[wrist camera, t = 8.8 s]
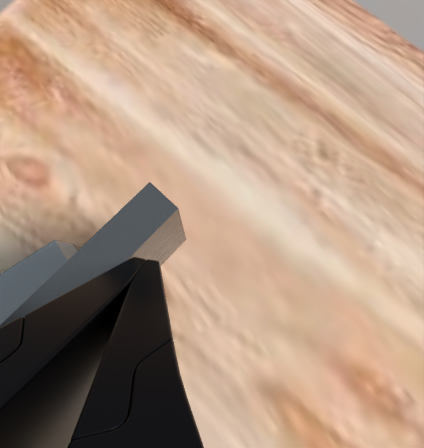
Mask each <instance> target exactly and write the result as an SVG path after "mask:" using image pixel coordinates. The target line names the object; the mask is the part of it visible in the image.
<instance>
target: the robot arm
mask: <svg viewBox="0 0 424 448" xmlns="http://www.w3.org/2000/svg"><path fill="white" fill-rule="evenodd" d="M0 448H204V447H203V444H202V441H201V438H200V435H199V432H198V429H197V426H196V423H195V420H194V417H193V414H192V411H191V408H190V405H189V402H188V399H187V396H186V392H185V389H184V385H183V382H182V379H181V375H180V371H179V367H178V362H177V357H176V352H175V346H174V342H173V337H172V331H171V325H170V319H169V314H168V308H167V302H166V296H165V290H164V285H163V279H162V273H161V267H160V262H159V261H156V260H150V259H147V260H146V259H144V258H138V257H132V258H130V259H128V260H127V261H125V262H123V263H121V264H119V265H117V266H115V267H114V268H112V269H110V270H108V271H106V272H104V273H102V274H101V275H99V276H97V277H95V278H93V279H91V280H89V281H87V282H86V283H84V284H82V285H80V286H78V287H76V288H74V289H73V290H71V291H69V292H67V293H65V294H63V295H61V296H60V297H58V298H56V299H54V300H52V301H50V302H48V303H46V304H45V305H43V306H41V307H39V308H37V309H35V310H33V311H32V312H30V313H28V314H26V315H25V316H24V317H19V318H17V319H16V320H14V321H12V322H10V323H8V324H6V325H4V326H2V327H0Z"/></svg>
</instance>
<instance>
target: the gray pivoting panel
mask: <svg viewBox="0 0 424 448" xmlns="http://www.w3.org/2000/svg"><path fill="white" fill-rule="evenodd" d="M185 240H186V237H185V233H184V229H183V225H182V221H181V217H180V213H179V209H178V208H177V207H176V206H175V205H174V204H173V203H172V202H171V201H170V200H169V199H168V198H166V197H165V196H164V195H163V194H162V193H161V192H160V191H159V190H158V189H157V188H156V187H155V186H154V185H152V184H151V183H150V182H149V183H148V184H147V185H146V186H145V187H144V188H143V189H142V190H141V191H140V192H139V193H138V194H137V195H136V196H135V197H134V198H133V199H132V200H130V201H129V202H128V203H127V204H126V205H125V206H124V207H123V208H122V209H121V210H120V211H119V212H118V213H117V214H116V215H115V216H114V217H113V218H112V219H111V220H110V221H109V222H107V223H106V224H105V225H104V226H103V227H102V228H101V229H100V230H99V231H98V232H97V233H96V234H95V235H94V236H93V237H92V238H91V239H90V240H89V241H88V242H87V243H86V244H84V245H83V246H82V247H81V248H80V249H79V250H78V251H77V252H76V253H75V254H74V255H73V256H72V257H71V258H70V259H69V260H68V261H67V262H66V263H65V264H64V265H62V266H61V267H60V268H59V269H58V270H57V271H56V272H55V273H54V274H53V275H52V276H51V277H50V278H49V279H48V280H47V281H46V282H45V283H44V284H43V285H42V286H41V287H39V288H38V289H37V290H36V291H35V292H34V293H33V294H32V295H31V296H30V297H29V298H28V299H27V300H26V301H25V302H24V303H23V304H22V305H21V306H20V307H19V308H18V309H16V310H15V311H14V312H13V313H12V314H11V315H10V316H9V317H8V318H7V319H6V320H5V321H4V322H3V323H2V324H1V325H0V327H2V326H4V325H6V324H8V323H10V322H12V321H14V320H16V319H17V318H19V317H24V316H25V315H26V314H28V313H30V312H32V311H33V310H35V309H37V308H39V307H41V306H43V305H45V304H46V303H48V302H50V301H52V300H54V299H56V298H58V297H60V296H61V295H63V294H65V293H67V292H69V291H71V290H73V289H74V288H76V287H78V286H80V285H82V284H84V283H86V282H87V281H89V280H91V279H93V278H95V277H97V276H99V275H101V274H102V273H104V272H106V271H108V270H110V269H112V268H114V267H115V266H117V265H119V264H121V263H123V262H125V261H127V260H128V259H130V258H132V257H138V258H144V259H146V260H147V259H150V260H156V261H159V262H160V266H161V265H162V264H163V263H164V262H165V261H166V260H167V259H168V258H169V257H170V256H171V255H172V254H173V253H174V252H175V251H176V250H177V248H178V247H179V246H180V245H181V244H182V243H183V242H184V241H185Z"/></svg>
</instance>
